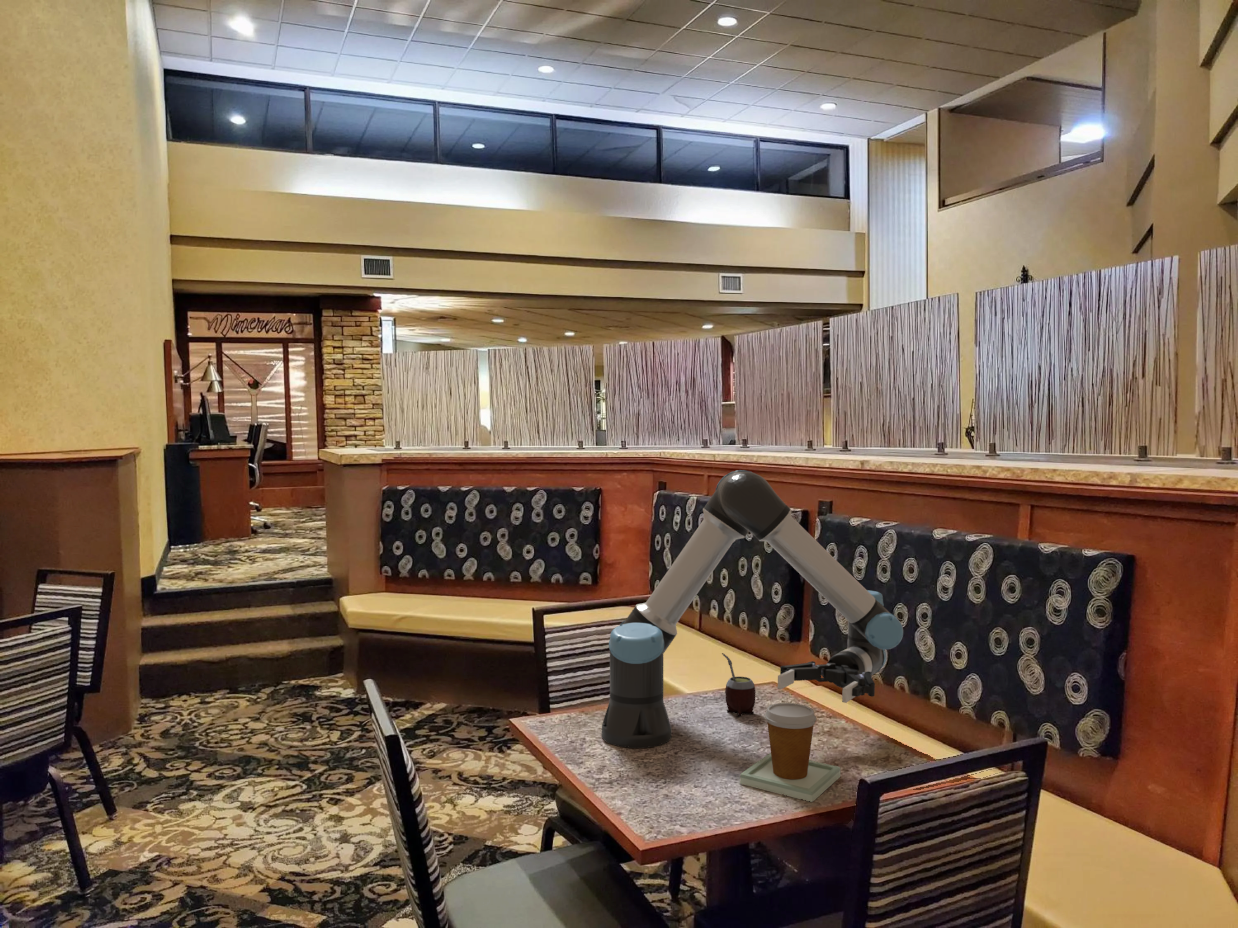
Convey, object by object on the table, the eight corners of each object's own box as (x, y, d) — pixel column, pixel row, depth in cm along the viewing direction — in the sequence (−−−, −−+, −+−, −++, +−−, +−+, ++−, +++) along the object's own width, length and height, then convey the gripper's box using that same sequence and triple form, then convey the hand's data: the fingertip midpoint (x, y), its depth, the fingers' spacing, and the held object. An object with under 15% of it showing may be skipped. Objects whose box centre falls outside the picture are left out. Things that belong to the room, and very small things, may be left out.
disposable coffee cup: (816, 785, 149) (817, 719, 149) (763, 780, 151) (763, 715, 151) (815, 765, 158) (815, 703, 158) (765, 761, 160) (765, 700, 160)
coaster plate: (740, 783, 153) (740, 773, 153) (772, 760, 164) (772, 751, 164) (811, 802, 144) (812, 791, 144) (840, 776, 156) (840, 767, 156)
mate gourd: (756, 709, 197) (756, 647, 197) (754, 719, 189) (754, 654, 189) (725, 707, 198) (725, 645, 198) (721, 717, 191) (721, 653, 191)
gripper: (905, 695, 174) (872, 720, 156) (795, 674, 188) (753, 695, 171) (907, 660, 173) (873, 681, 156) (796, 641, 188) (754, 659, 171)
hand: (810, 688), depth 163 cm, fingers open, 13 cm apart
